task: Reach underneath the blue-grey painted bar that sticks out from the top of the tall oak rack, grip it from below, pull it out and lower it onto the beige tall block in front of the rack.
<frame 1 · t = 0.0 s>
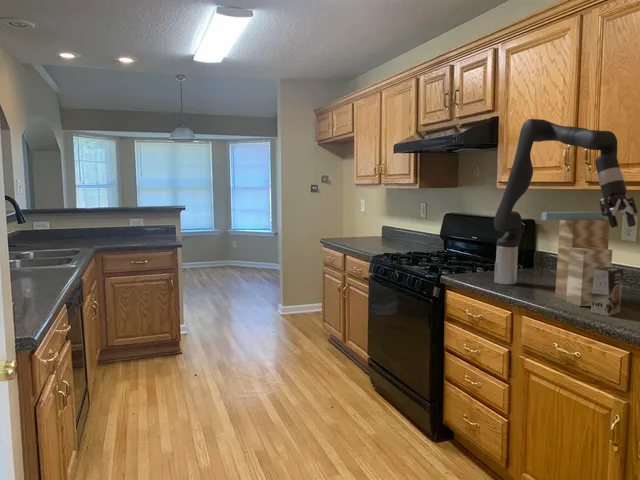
hand: (623, 226, 171), 31 cm above the counter, tool tilted 20°, fingers open, 8 cm apart
coffee box: (605, 313, 177), on the counter
beige tall block: (586, 303, 189), on the counter
rack: (579, 298, 198), on the counter
bar: (573, 219, 193), point 32 cm above the counter, touching rack
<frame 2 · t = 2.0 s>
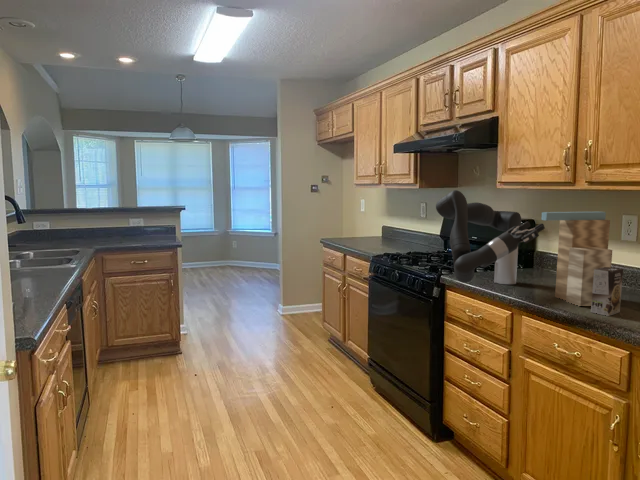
hand: (536, 224, 183), 31 cm above the counter, tool pointing upward, fingers open, 8 cm apart
nothing on the counter moved.
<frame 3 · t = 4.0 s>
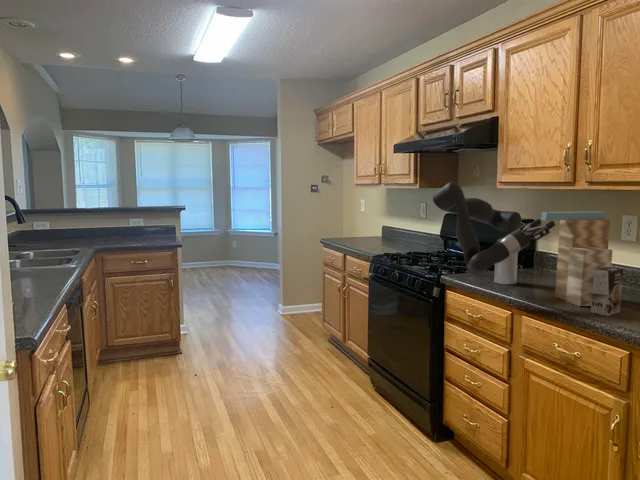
hand: (546, 221, 191), 31 cm above the counter, tool pointing upward, fingers open, 8 cm apart
nothing on the counter moved.
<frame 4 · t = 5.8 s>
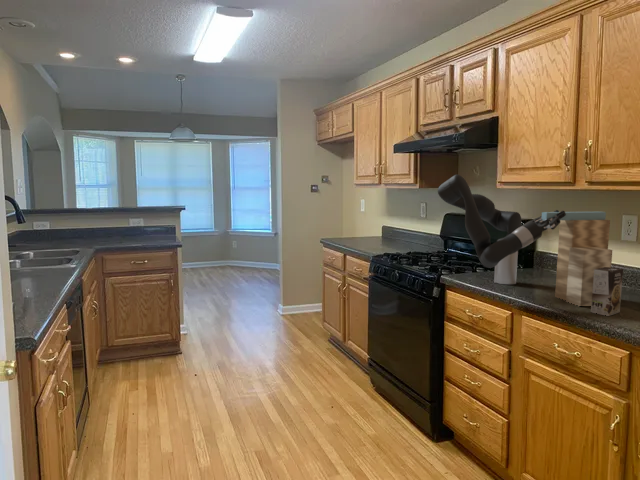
hand: (561, 212, 191), 35 cm above the counter, tool pointing upward, fingers closed on bar, 3 cm apart
bar: (573, 219, 193), point 32 cm above the counter, touching gripper, rack
everything else where it was.
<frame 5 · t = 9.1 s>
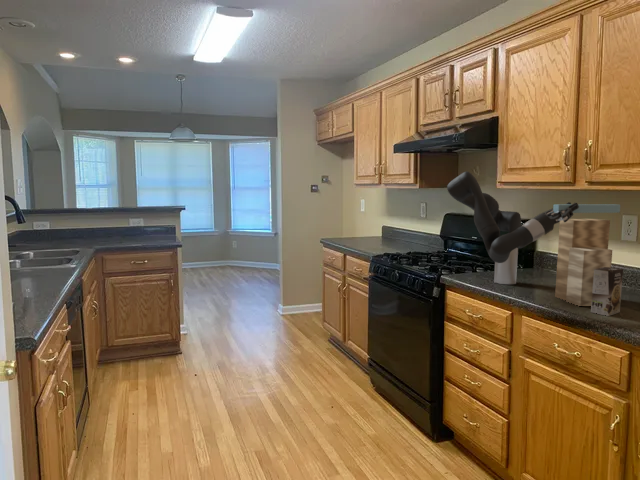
hand: (573, 204, 183), 38 cm above the counter, tool pointing upward, fingers closed on bar, 3 cm apart
bar: (586, 212, 184), point 35 cm above the counter, touching gripper
everything else where it was.
when the fingers open (26 cm above the counter, at t = 12.2 s): bar drops 1 cm, resting on beige tall block.
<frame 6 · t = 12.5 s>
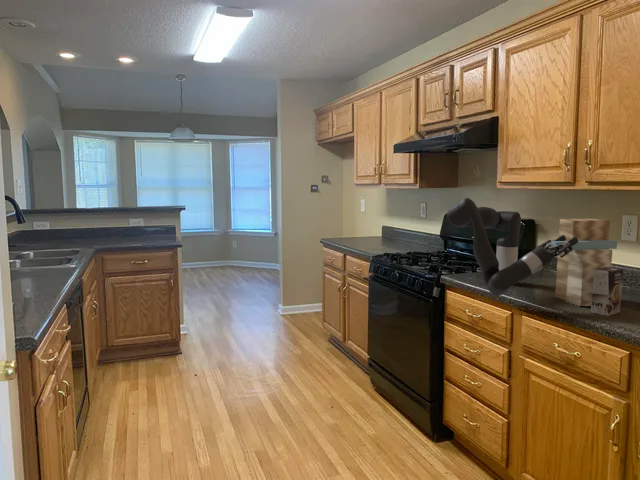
hand: (570, 238, 185), 26 cm above the counter, tool pointing upward, fingers open, 6 cm apart
bar: (583, 249, 186), point 21 cm above the counter, touching beige tall block
everything else where it was.
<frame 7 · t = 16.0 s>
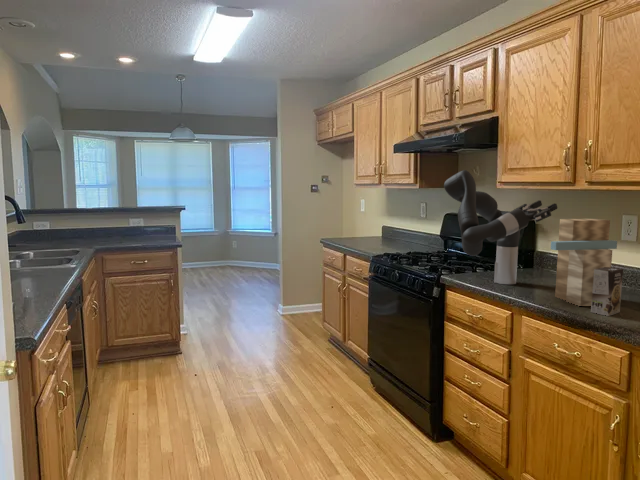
hand: (548, 204, 180), 39 cm above the counter, tool pointing upward, fingers open, 8 cm apart
nothing on the counter moved.
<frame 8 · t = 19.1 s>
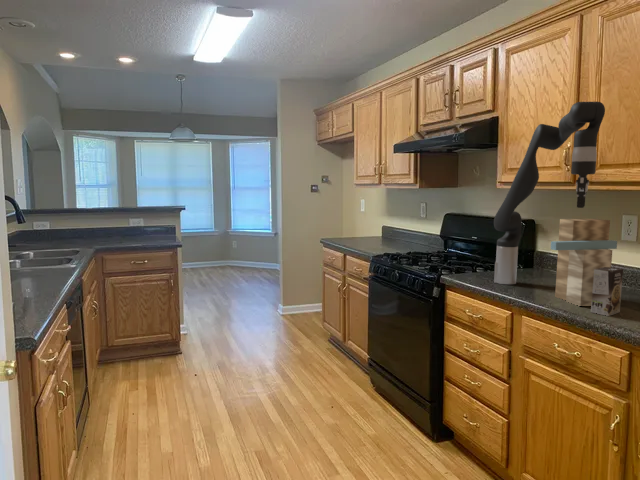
hand: (580, 207, 172), 38 cm above the counter, tool pointing down, fingers open, 8 cm apart
nothing on the counter moved.
at the end: bar inside the target area on the beige tall block (0.5 cm from its centre), point 21.5 cm above the beige tall block's base; the gripper is holding nothing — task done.
